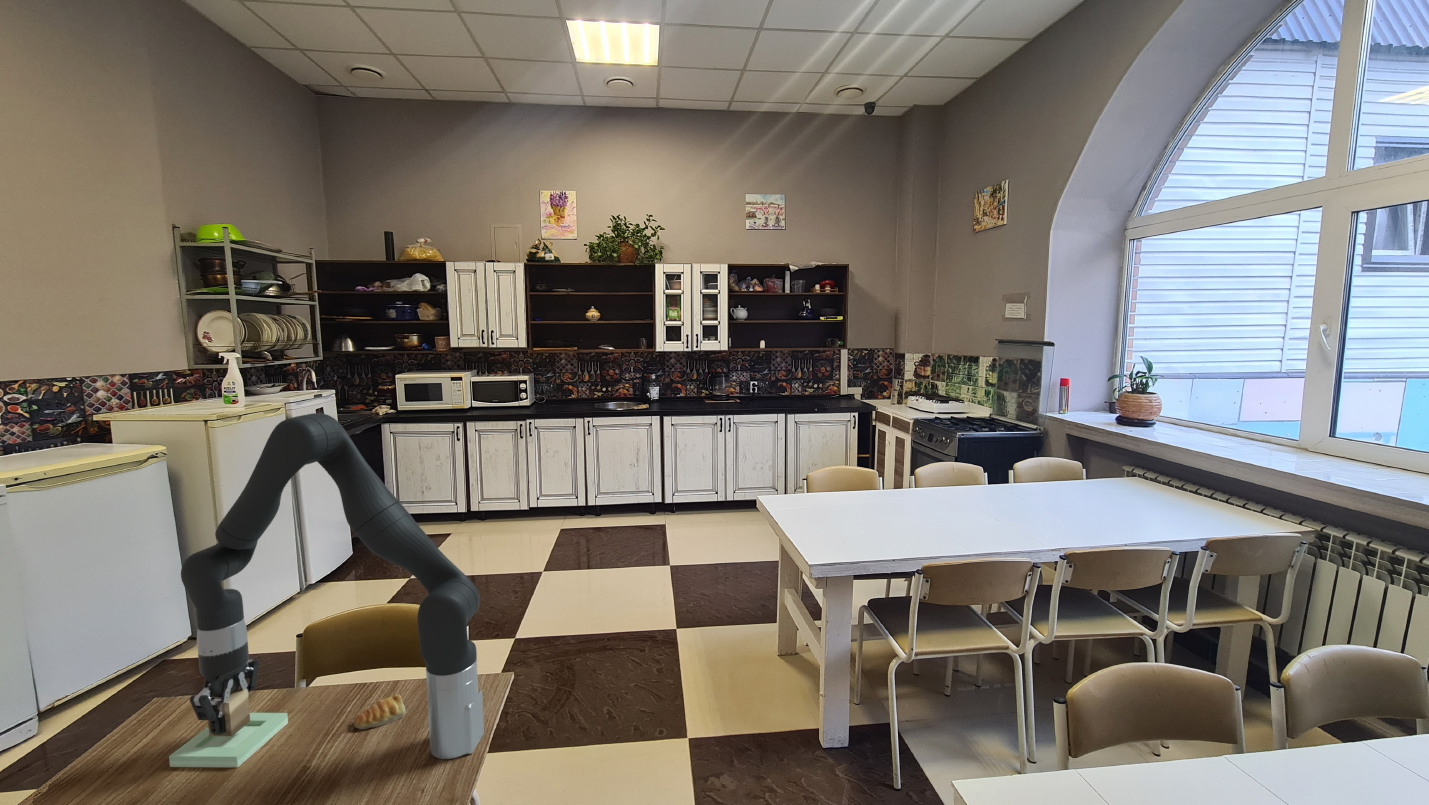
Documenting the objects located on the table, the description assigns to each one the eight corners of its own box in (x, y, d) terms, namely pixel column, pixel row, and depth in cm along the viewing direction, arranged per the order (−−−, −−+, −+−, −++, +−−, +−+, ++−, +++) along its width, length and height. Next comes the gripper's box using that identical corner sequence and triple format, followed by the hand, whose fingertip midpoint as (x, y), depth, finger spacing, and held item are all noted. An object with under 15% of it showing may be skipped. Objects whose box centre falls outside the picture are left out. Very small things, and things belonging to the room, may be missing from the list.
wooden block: (250, 721, 119) (247, 689, 118) (231, 736, 114) (228, 703, 114) (228, 721, 119) (225, 689, 118) (209, 736, 114) (206, 702, 114)
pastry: (359, 737, 119) (357, 720, 119) (350, 722, 124) (349, 705, 124) (408, 717, 126) (407, 700, 125) (398, 703, 131) (397, 687, 130)
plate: (288, 722, 123) (287, 713, 123) (237, 767, 110) (236, 756, 110) (227, 722, 124) (226, 712, 123) (170, 766, 111) (168, 756, 110)
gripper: (210, 664, 108) (218, 750, 109) (269, 626, 122) (275, 703, 124) (170, 664, 108) (178, 749, 110) (234, 626, 122) (240, 702, 124)
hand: (230, 724), depth 117 cm, fingers closed on wooden block, 4 cm apart
